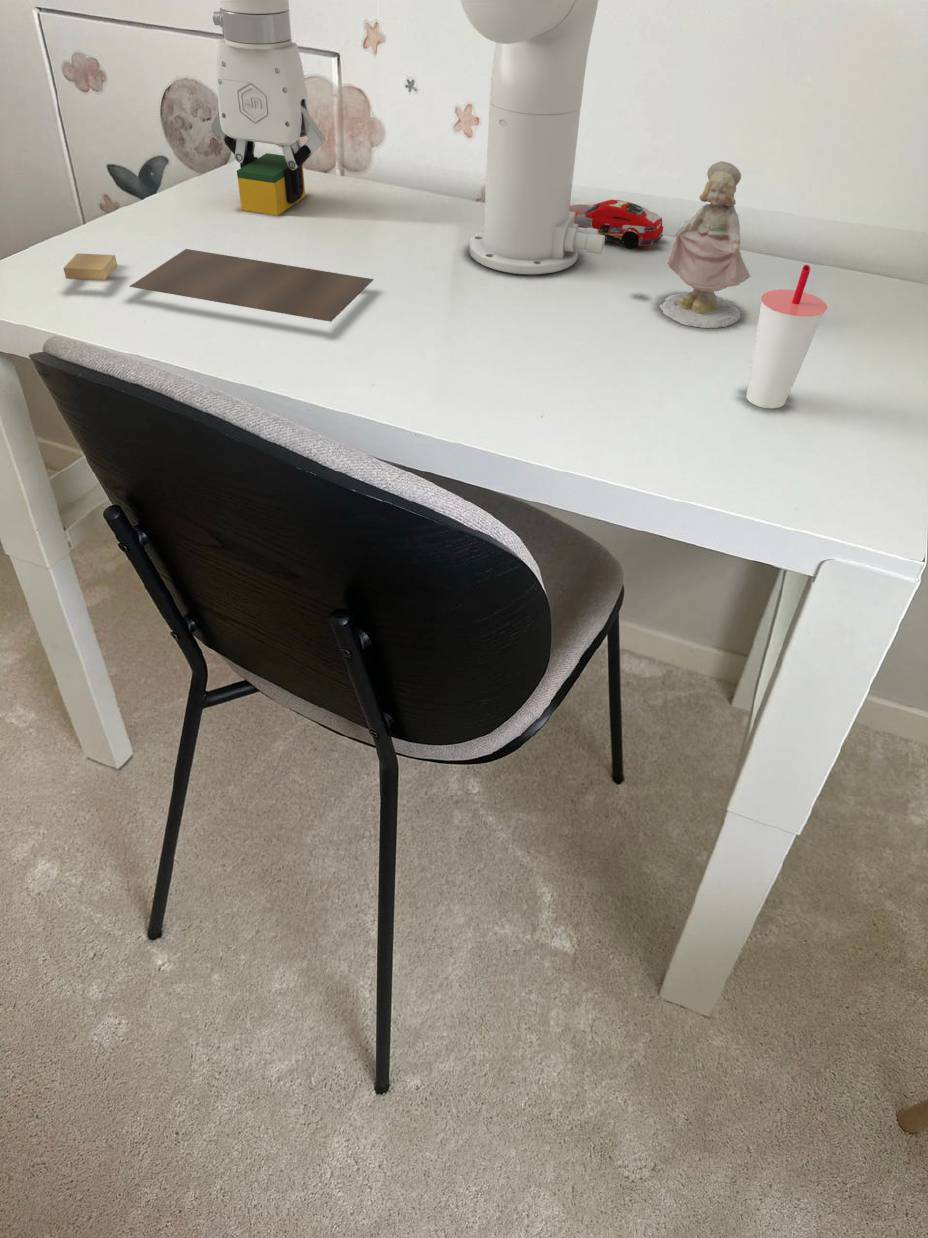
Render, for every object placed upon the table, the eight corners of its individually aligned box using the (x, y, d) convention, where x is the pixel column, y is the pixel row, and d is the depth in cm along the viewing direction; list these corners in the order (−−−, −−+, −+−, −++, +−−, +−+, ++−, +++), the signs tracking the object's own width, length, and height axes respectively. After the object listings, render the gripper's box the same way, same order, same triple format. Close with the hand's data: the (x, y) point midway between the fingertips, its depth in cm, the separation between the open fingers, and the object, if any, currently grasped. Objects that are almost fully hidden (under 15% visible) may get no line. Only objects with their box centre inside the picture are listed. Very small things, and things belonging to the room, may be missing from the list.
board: (374, 292, 94) (373, 278, 93) (332, 335, 86) (331, 321, 85) (188, 262, 98) (185, 248, 97) (132, 300, 90) (129, 286, 89)
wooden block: (120, 278, 94) (115, 254, 93) (108, 293, 91) (102, 269, 90) (83, 276, 94) (76, 252, 93) (69, 292, 91) (63, 267, 90)
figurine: (628, 318, 90) (660, 152, 84) (637, 311, 99) (667, 161, 92) (737, 335, 88) (778, 166, 82) (736, 326, 97) (773, 174, 90)
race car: (547, 234, 109) (550, 199, 106) (562, 220, 112) (566, 187, 110) (652, 254, 105) (658, 218, 102) (664, 239, 108) (670, 205, 106)
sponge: (305, 196, 116) (302, 157, 113) (277, 215, 110) (273, 176, 107) (270, 190, 117) (266, 152, 114) (241, 210, 111) (236, 170, 108)
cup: (796, 418, 77) (840, 281, 69) (733, 408, 78) (769, 272, 70) (796, 390, 81) (838, 257, 73) (736, 380, 82) (771, 248, 74)
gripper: (172, 25, 100) (199, 196, 112) (312, 41, 96) (323, 216, 109) (206, 15, 105) (228, 179, 117) (340, 29, 102) (347, 197, 114)
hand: (273, 195), depth 113 cm, fingers closed on sponge, 5 cm apart
